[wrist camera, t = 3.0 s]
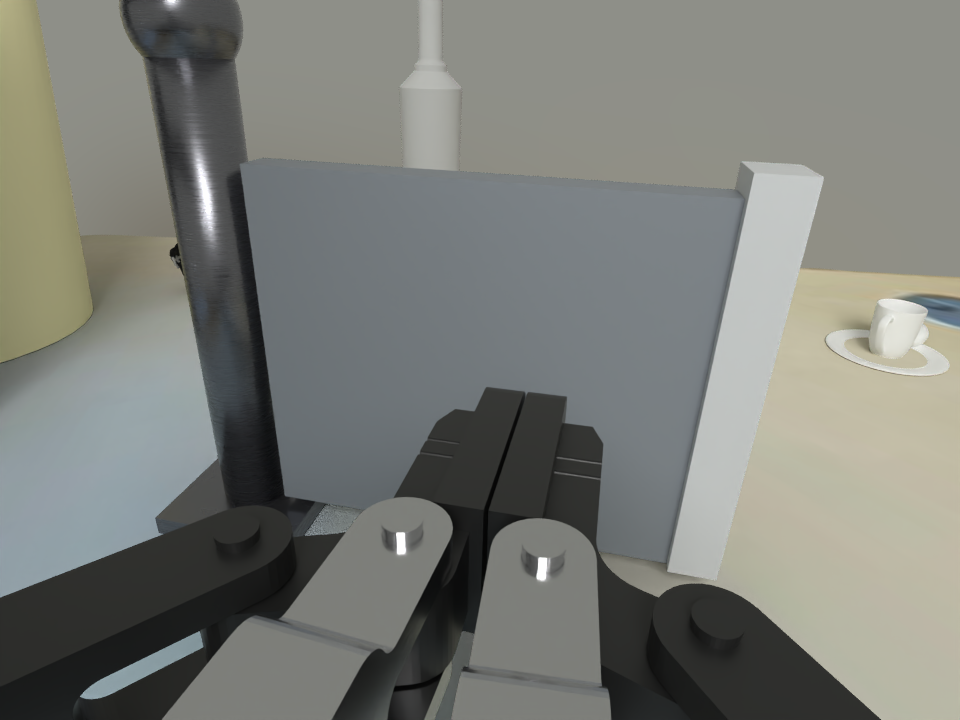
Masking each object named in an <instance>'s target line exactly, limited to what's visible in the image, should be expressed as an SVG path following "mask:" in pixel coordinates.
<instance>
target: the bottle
mask: <svg viewBox="0 0 960 720" xmlns="http://www.w3.org/2000/svg"><path fill="white" fill-rule="evenodd" d="M418 41H419V42H418V43H419V44H418V48H419V49H418V53H419V59H418V62H417V63H416V64H415V65H414V72H413V73H412V74H411V75H410V76H409V77H408V78H407V79H406V80H405V81H404V82H403V83H402V85H401V86H400V87H399V95H400V114H401V115H400V118H401V140H402V162H403V167H405V168H420V169H435V170H450V171H459V170H460V169H459V168H460V139H461V109H462V88H461V87H460V86H459V85H458V83H457V82H456V81H455V80H454V79H453V78H452V77H451V75H450V74H449V73H448V72H447V65H446V64H445V63H444V62H443V0H418Z"/></svg>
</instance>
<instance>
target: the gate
mask: <svg viewBox="0 0 960 720" xmlns="http://www.w3.org/2000/svg"><path fill="white" fill-rule="evenodd" d="M240 170H241V177H242V184H243V192H244V199H245V206H246V214H247V221H248V228H249V236H250V243H251V250H252V258H253V265H254V273H255V280H256V287H257V295H258V302H259V309H260V317H261V324H262V331H263V339H264V346H265V353H266V361H267V368H268V375H269V383H270V390H271V397H272V405H273V412H274V419H275V427H276V434H277V441H278V449H279V456H280V463H281V471H282V478H283V486H284V493H285V496H288V497H293V498H299V499H305V500H310V501H316V502H322V503H327V504H333V505H339V506H344V507H350V508H356V509H361V510H366V509H367V508H368V507H370V506H372V505H374V504H376V503H378V502H381V501H384V500H387V499H392V498H394V496H395V494H396V492H397V491H398V489H399V487H400V485H401V484H402V482H403V480H404V478H405V476H406V475H407V473H408V471H409V469H410V468H411V466H412V464H413V462H414V461H415V459H416V457H417V455H418V454H420V450H421V448H422V446H423V445H424V443H425V441H427V439H428V436H429V434H430V432H431V431H432V429H433V427H434V425H435V423H436V422H437V421H438V420H439V419H441V418H442V417H444V416H445V415H447V414H448V413H450V412H451V411H453V410H454V409H460V410H468V411H475V409H476V407H477V405H478V403H479V401H480V399H481V396H482V394H483V392H484V390H485V388H486V387H492V388H501V389H509V390H517V391H525V393H526V395H527V393H528V392H534V393H542V394H550V395H558V396H567V409H566V419H565V423H568V424H575V425H583V426H591V427H593V428H594V429H595V431H596V433H597V434H598V436H599V437H600V439H601V441H602V442H603V457H602V471H601V484H600V497H599V511H598V524H597V537H596V542H597V548H598V551H600V552H605V553H611V554H617V555H622V556H628V557H634V558H639V559H645V560H651V561H656V562H662V563H667V572H672V573H677V574H683V575H688V576H694V577H700V578H705V579H711V580H717V576H718V573H719V569H720V565H721V561H722V558H723V554H724V550H725V546H726V543H727V539H728V535H729V531H730V528H731V524H732V520H733V516H734V513H735V509H736V505H737V502H738V498H739V494H740V490H741V487H742V483H743V479H744V475H745V472H746V468H747V464H748V460H749V457H750V453H751V449H752V445H753V442H754V438H755V434H756V431H757V427H758V423H759V419H760V416H761V412H762V408H763V404H764V401H765V397H766V393H767V389H768V386H769V382H770V378H771V374H772V371H773V367H774V363H775V360H776V356H777V352H778V348H779V345H780V341H781V337H782V333H783V330H784V326H785V322H786V318H787V315H788V311H789V307H790V303H791V300H792V296H793V292H794V289H795V285H796V281H797V277H798V274H799V270H800V266H801V262H802V258H803V255H804V251H805V247H806V243H807V240H808V236H809V232H810V229H811V225H812V220H813V218H814V214H815V210H816V206H817V203H818V199H819V195H820V191H821V188H822V184H823V180H824V177H822V176H821V175H819V174H818V173H816V172H814V171H812V170H811V169H809V168H807V167H806V166H804V165H797V164H780V163H763V162H746V161H741V163H740V167H739V173H738V177H737V182H736V187H735V190H732V189H717V188H702V187H687V186H672V185H657V184H643V183H628V182H613V181H598V180H583V179H568V178H552V177H539V176H524V175H509V174H493V173H479V172H464V171H450V170H435V169H420V168H405V167H390V166H374V165H360V164H345V163H330V162H315V161H301V160H300V161H299V160H286V159H271V158H262V159H257V160H253V161H249V162H245V163H241V164H240Z"/></svg>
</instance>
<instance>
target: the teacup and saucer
mask: <svg viewBox="0 0 960 720" xmlns="http://www.w3.org/2000/svg"><path fill="white" fill-rule="evenodd" d="M927 313H928V310H927V309H926V308H924V307H923V306H921V305H918V304H915V303H912V302H908V301H904V300H897V299H881V300H878V301H877V304H876V307H875V311H874V315H873V319H872V323H871V328H870V330H859V329H847V330H839V331H835V332H832V333H830V334H828V335H827V337H826V344H827V345H828V346H829V348H830V349H832V350H833V351H834V352H836V353H837V354H839V355H840V356H842V357H844V358H846V359H848V360H850V361H853V362H855V363H858V364H861V365H863V366H866V367H870V368H873V369H877V370H881V371H885V372H890V373H895V374H902V375H911V376H932V375H938V374H941V373H944V372H946V371H947V370H948V369H949V362H948V360H947V359H946V358H945V357H944V356H943V355H942V354H940V353H939V352H937V351H936V350H934V349H932V348H930V347H928V346H926V345H924V344H922V343H924V342H925V341H926V339H927V338H928V337H929V331H928V328H927V327H926V326H925V325H924V324H923V322H924V320H925V318H926V316H927ZM860 337H864V338H869V348H870V351H871V352H872V353H874V354H876V355H878V356H881V357H884V358H890V359H900V358H902V357H903V356H904V355H905V354H906V353H907V352H908V351H909V350H910V348H912V349H914V350H916V351H918V352H919V353H921V354H922V355H924V356H925V357H926V359H927V361H928V363H927V365H925V366H924V367H920V368H912V369H907V368H895V367H889V366H884V365H880V364H876V363H873V362H870V361H867V360H864V359H862V358H860V357H857V356H855V355H854V354H852V353H850V352H849V351H848V350H847V349H846V348H845V347H844V342H845V341H846V340H848V339H851V338H860Z"/></svg>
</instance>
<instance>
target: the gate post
mask: <svg viewBox="0 0 960 720" xmlns="http://www.w3.org/2000/svg"><path fill="white" fill-rule="evenodd" d="M119 9H120V16H121V20H122V24H123V26H124V29H125V32H126V34H127V35H128V37H129V39H130V41H131V43H132V44H133V45H134V47H135V49H136V50H137V51H138V52H139V53H140V54H141V56H142V57H143V62H144V68H145V73H146V78H147V83H148V89H149V94H150V99H151V104H152V110H153V115H154V120H155V126H156V131H157V136H158V142H159V146H160V152H161V157H162V163H163V168H164V173H165V179H166V184H167V189H168V194H169V199H170V205H171V210H172V216H173V221H174V226H175V232H176V237H177V242H178V247H179V253H180V258H181V263H182V269H183V274H184V279H185V285H186V290H187V295H188V300H189V306H190V311H191V316H192V322H193V327H194V332H195V337H196V343H197V348H198V353H199V359H200V364H201V369H202V374H203V380H204V385H205V390H206V396H207V401H208V406H209V411H210V417H211V422H212V427H213V433H214V438H215V443H216V449H217V454H218V459H217V460H216V461H215V462H214V463H213V464H212V465H211V466H210V467H209V468H207V469H206V470H205V471H204V472H203V473H202V474H201V475H200V476H199V477H198V478H197V479H196V480H195V481H194V482H193V483H192V484H191V485H190V486H188V487H187V488H186V489H185V490H184V491H183V492H182V493H181V494H180V495H179V496H178V497H177V498H176V499H175V500H174V501H173V502H172V503H171V504H170V505H168V506H167V507H166V508H165V509H164V510H163V511H162V512H161V513H160V514H159V515H158V516H157V517H156V518H155V519H156V523H157V527H158V531H159V533H163V534H166V533H168V532H171V531H173V530H176V529H178V528H181V527H184V526H186V525H189V524H191V523H194V522H196V521H199V520H202V519H204V518H207V517H209V516H212V515H214V514H217V513H220V512H222V511H225V510H228V509H232V508H236V507H243V506H265V507H270V508H273V509H276V510H278V511H280V512H282V513H283V514H284V515H286V516H287V517H288V519H289V520H290V522H291V525H292V530H293V537H299V536H303V535H304V534H305V533H306V531H307V530H308V528H309V527H310V525H311V524H312V523H313V521H314V520H315V518H316V517H317V515H318V514H319V513H320V511H321V510H322V508H323V507H324V505H325V504H326V503H322V502H316V501H310V500H305V499H299V498H293V497H288V496H285V493H284V486H283V478H282V471H281V463H280V456H279V449H278V441H277V434H276V427H275V419H274V412H273V405H272V397H271V390H270V383H269V375H268V368H267V361H266V353H265V346H264V339H263V331H262V324H261V317H260V309H259V302H258V295H257V287H256V280H255V273H254V265H253V258H252V250H251V243H250V236H249V228H248V221H247V214H246V206H245V199H244V192H243V184H242V177H241V170H240V164H241V163H245V162H248V157H247V149H246V142H245V134H244V126H243V118H242V111H241V103H240V95H239V89H238V81H237V72H236V64H235V58H236V56H237V54H238V52H239V50H240V47H241V43H242V39H243V21H242V15H241V11H240V8H239V5H238V2H237V0H119Z"/></svg>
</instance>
